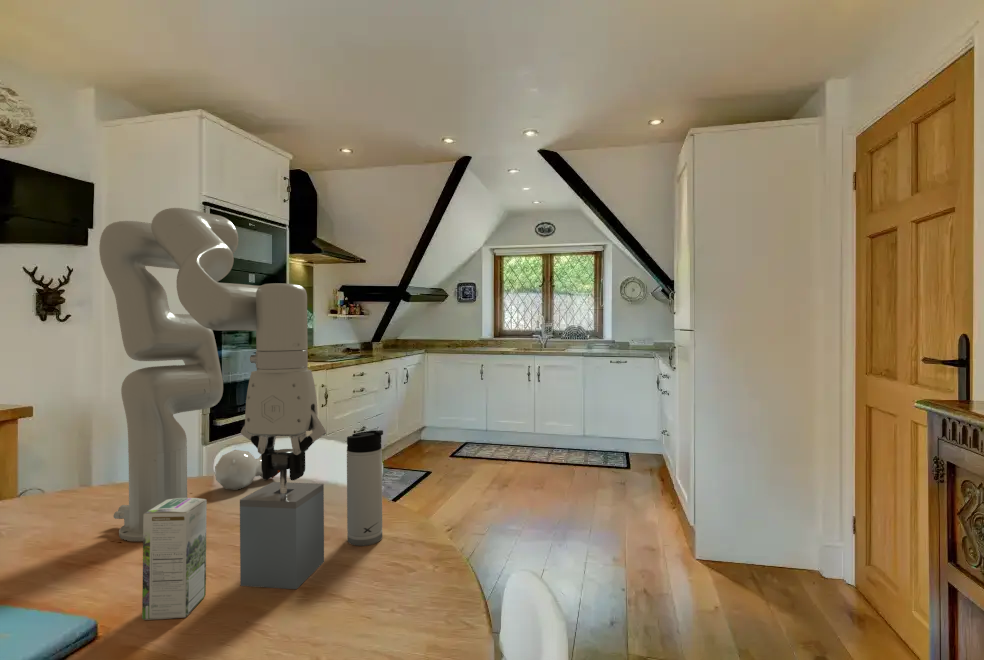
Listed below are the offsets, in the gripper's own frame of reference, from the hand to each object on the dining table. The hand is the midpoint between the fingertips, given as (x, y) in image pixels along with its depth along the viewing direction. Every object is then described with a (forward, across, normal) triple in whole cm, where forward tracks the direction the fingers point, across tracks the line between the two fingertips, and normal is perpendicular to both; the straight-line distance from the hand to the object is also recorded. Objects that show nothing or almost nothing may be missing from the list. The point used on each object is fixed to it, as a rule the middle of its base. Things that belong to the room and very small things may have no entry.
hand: (283, 476), depth 81 cm
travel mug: (+16, +8, +14) cm, 22 cm away
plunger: (+11, 0, 0) cm, 11 cm away
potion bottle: (+16, -34, +42) cm, 56 cm away
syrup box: (+16, -10, -11) cm, 22 cm away
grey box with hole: (+15, 0, 0) cm, 15 cm away
